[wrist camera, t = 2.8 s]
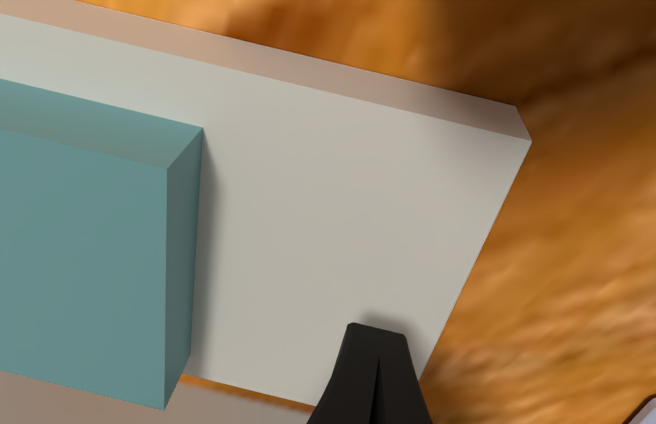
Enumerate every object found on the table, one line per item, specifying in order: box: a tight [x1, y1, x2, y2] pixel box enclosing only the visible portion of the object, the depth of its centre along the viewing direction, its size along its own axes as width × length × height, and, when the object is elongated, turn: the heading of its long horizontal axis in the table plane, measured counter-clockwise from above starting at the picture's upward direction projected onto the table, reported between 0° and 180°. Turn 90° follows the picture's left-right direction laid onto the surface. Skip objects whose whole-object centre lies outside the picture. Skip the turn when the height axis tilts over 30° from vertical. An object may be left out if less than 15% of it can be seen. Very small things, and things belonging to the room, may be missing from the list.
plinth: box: [0, 0, 532, 406], centre depth 14 cm, size 14×10×2 cm
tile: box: [0, 79, 203, 410], centre depth 13 cm, size 6×8×2 cm
